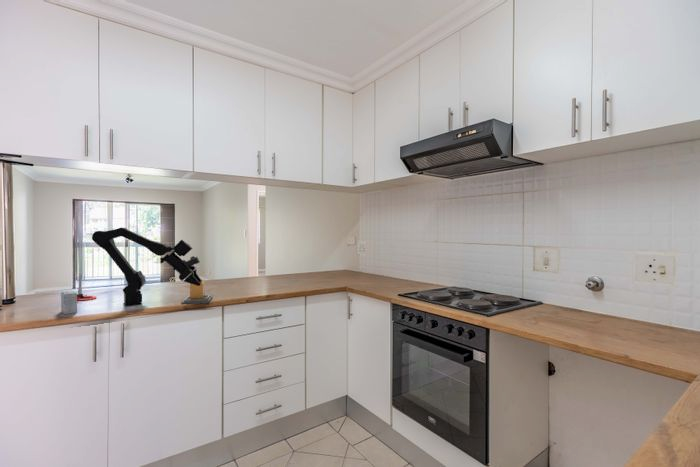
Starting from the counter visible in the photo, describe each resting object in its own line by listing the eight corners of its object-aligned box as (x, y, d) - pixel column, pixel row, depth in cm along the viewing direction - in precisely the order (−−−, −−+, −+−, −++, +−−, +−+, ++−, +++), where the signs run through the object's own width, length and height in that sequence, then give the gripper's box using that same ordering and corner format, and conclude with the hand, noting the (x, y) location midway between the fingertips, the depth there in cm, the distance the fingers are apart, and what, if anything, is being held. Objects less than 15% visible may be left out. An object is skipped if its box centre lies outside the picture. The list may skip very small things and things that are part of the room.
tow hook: (100, 299, 169) (87, 297, 171) (101, 274, 168) (87, 273, 170) (83, 302, 160) (69, 300, 163) (84, 277, 160) (70, 275, 162)
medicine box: (77, 312, 139) (77, 293, 139) (63, 314, 136) (63, 294, 136) (74, 309, 144) (74, 290, 144) (61, 311, 141) (60, 292, 141)
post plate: (181, 303, 157) (181, 293, 157) (187, 298, 169) (187, 288, 169) (208, 302, 160) (208, 292, 160) (212, 297, 172) (212, 287, 172)
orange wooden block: (190, 300, 161) (190, 283, 161) (192, 298, 167) (192, 281, 167) (202, 299, 163) (203, 283, 163) (204, 297, 168) (204, 281, 168)
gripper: (186, 252, 154) (211, 274, 158) (191, 250, 172) (213, 270, 176) (168, 269, 152) (193, 291, 156) (175, 265, 169) (197, 285, 173)
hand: (200, 283), depth 165 cm, fingers open, 9 cm apart
